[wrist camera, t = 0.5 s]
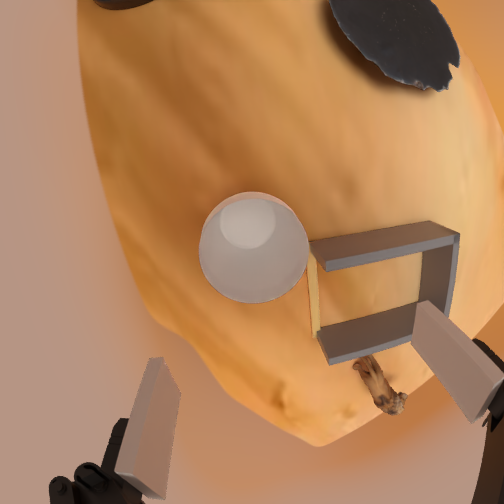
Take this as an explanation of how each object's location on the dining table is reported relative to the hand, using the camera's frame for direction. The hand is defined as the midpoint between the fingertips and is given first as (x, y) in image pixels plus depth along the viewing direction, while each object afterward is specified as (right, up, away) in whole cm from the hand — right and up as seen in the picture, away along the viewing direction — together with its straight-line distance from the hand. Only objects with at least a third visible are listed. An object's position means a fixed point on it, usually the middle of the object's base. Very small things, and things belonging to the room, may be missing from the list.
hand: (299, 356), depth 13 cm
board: (+17, +36, +13) cm, 42 cm away
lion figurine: (+18, -15, +30) cm, 38 cm away
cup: (-3, +9, +21) cm, 22 cm away
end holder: (+15, +1, +24) cm, 28 cm away
